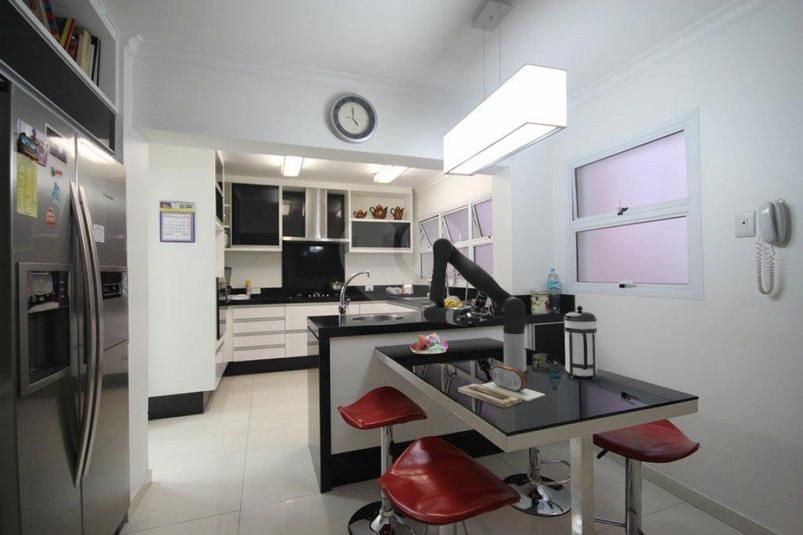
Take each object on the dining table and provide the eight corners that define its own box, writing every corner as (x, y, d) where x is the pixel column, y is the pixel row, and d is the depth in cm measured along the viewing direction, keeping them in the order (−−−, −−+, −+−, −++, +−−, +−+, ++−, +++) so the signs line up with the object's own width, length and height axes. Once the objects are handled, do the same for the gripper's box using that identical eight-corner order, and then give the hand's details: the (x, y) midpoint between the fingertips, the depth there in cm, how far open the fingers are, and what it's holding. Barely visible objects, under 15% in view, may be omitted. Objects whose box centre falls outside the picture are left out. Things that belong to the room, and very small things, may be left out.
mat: (497, 381, 152) (497, 380, 152) (545, 395, 134) (545, 394, 134) (480, 386, 147) (480, 384, 147) (527, 401, 129) (527, 399, 129)
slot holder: (476, 387, 146) (475, 383, 146) (521, 402, 128) (521, 397, 128) (458, 391, 140) (458, 387, 140) (503, 408, 123) (503, 403, 123)
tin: (527, 393, 136) (527, 370, 136) (522, 394, 134) (521, 371, 134) (496, 383, 148) (495, 362, 148) (490, 384, 146) (490, 363, 147)
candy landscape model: (404, 347, 228) (403, 332, 228) (439, 344, 235) (439, 330, 235) (417, 355, 204) (417, 338, 205) (456, 352, 211) (456, 336, 212)
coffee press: (552, 374, 162) (551, 305, 162) (579, 370, 168) (577, 303, 169) (586, 385, 146) (584, 308, 146) (614, 380, 152) (612, 306, 153)
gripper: (445, 309, 158) (473, 311, 145) (469, 306, 166) (498, 308, 153) (446, 326, 158) (474, 330, 144) (470, 323, 166) (499, 326, 153)
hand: (486, 319), depth 149 cm, fingers open, 8 cm apart
